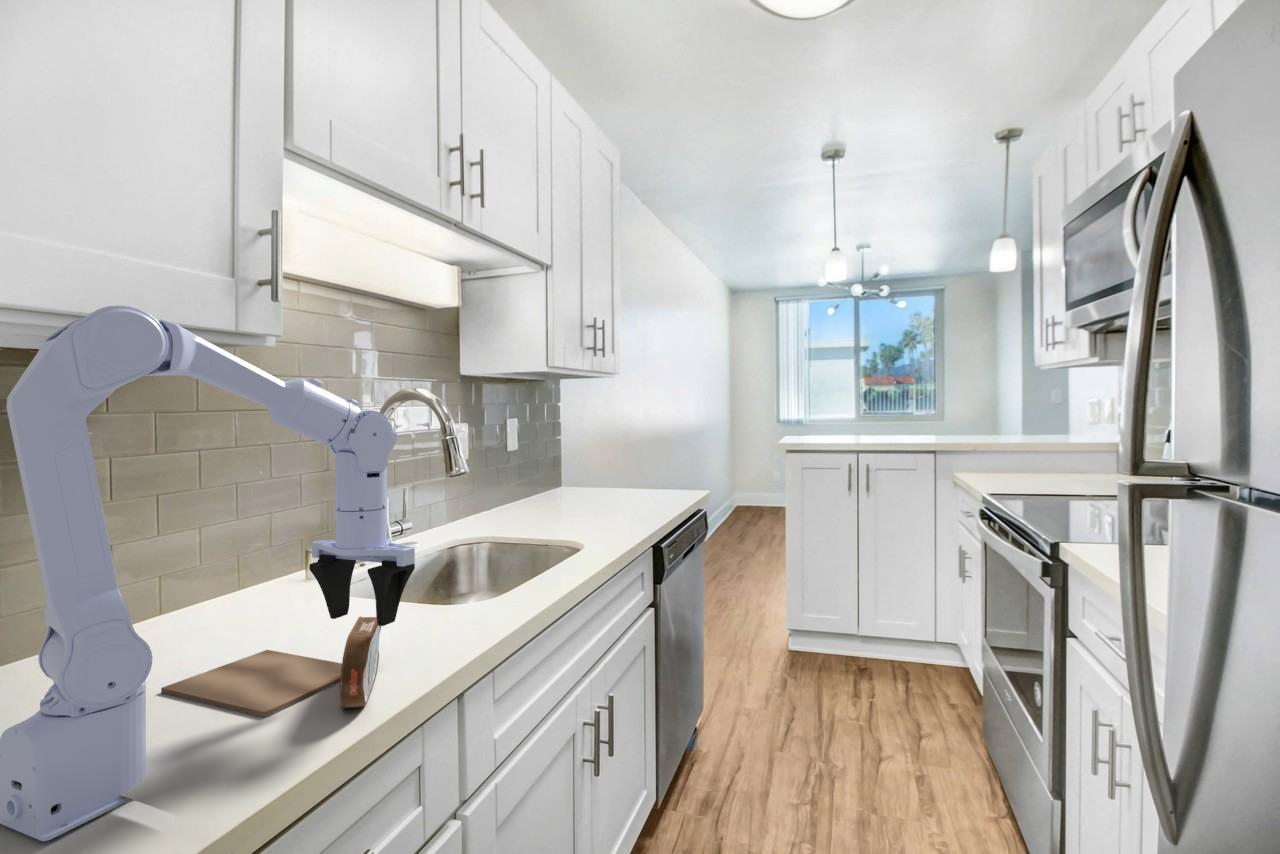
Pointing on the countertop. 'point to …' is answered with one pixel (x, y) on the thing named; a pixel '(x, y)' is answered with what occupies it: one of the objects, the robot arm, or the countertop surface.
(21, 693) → the countertop surface
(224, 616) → the countertop surface
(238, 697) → the board
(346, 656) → the tin
